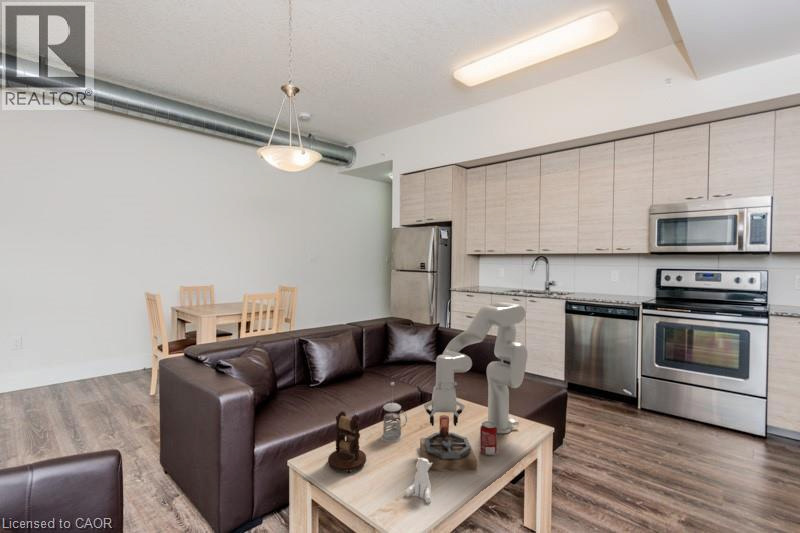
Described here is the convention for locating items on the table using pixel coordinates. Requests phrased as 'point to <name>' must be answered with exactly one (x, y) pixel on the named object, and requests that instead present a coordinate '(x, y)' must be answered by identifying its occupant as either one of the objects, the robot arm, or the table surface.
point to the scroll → (347, 445)
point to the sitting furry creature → (421, 481)
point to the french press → (395, 430)
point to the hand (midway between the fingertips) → (443, 424)
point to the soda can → (488, 438)
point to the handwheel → (446, 441)
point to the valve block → (449, 463)
